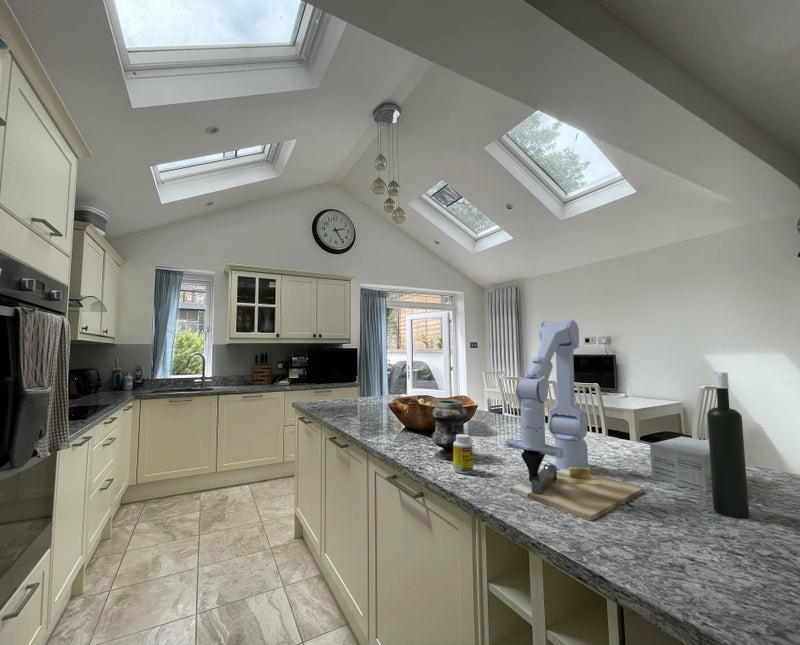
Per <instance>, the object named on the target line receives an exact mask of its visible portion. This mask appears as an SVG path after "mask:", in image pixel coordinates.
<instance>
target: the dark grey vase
mask: <svg viewBox="0 0 800 645" xmlns="http://www.w3.org/2000/svg"><path fill="white" fill-rule="evenodd" d="M431 415H432V417H433V418H434V419H435V430H434V432H433V433H432V434H431V441H432V443H433V444H434V445H435V446H438V447H439V448H441V449H440V450H438V451H436V452H435V453H434V457H436V458H438V459H441V460H453V461H454V459H453V443H454V442H455V441H456V435H458V434H466V433H465V430H464V428H465V427H464V423H465V422H464V421H465V419H467V416H468V411H467V410H466V408H464V406H463V402H462V400H461V401H460V400H455V399H439V400H437V401H436V406H435V407H433V409H432V411H431Z"/></svg>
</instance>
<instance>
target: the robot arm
mask: <svg viewBox="0 0 800 645" xmlns="http://www.w3.org/2000/svg"><path fill="white" fill-rule="evenodd" d="M538 336H539V340H540V344H539V348H538V351H537V354H536V356H533V357H532V358H531V360H530V362H529V364H528V367H527V370H526V372H525V374H524V376H523V377H522V378H520V379H519V380H518V381H517V383H516V385H515V386H516V388H515V396H516V398H517V404H518V408H520V439H514V438H507V439H505V447H506V448H509V449H510V448H512V449H517V450H521V451H523V452H521V453H520V455H521V458H522V460H523V461H524V464H525V465H526V467H527V470H528V481H530V482H531V479H533V478H534V477H535V476H536V475H537V474H538V473H539V470H540V467H541V464H542V463H543V460H544V458H545V457H546V456H550V457H555V463H552V464H553V465H555V466H557V470H561V469H564V468H569V467H582V468H589V469H591V468H592V465H589V460H588V458H589V457H588V453H589V452H588V444H587V442H586V441H585V439H584V438H586V436H587V433H588V421H587V418H586V417H587V416H586V413H585V411H584V410H583V409H582V408H580V407H579V406H578V405H577V404H575V402H576V401H575V400H576V398H575V368H574V367H575V366H574V364H575V363H574V354H575V352H574V351H575V350H576V349H578V348H579V347H580V346H579V345H580V331H579V326H578V324H577V322H576V321H575V320H574V319H571V320H559V321H558V320H557V321H542V322H541V323H540V324H539V326H538ZM554 355H555V363H556V365H555V369H556V374H555V375H556V403H557V404H556V405H554V406H553V407H551V408H550V409H549V411H548V418H547V428H548V429H547V430H548V432H550V434H551V435H552V438H554V446H553V445H550V444H548V443H546V423H545V422H546V420H545V419H546V418H545V402H546V401H547V399H548V396H549V378H550V376H551V374H552V370H553V363H552V361H551V360H552V358H553V356H554Z"/></svg>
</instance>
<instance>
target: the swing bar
mask: <svg viewBox="0 0 800 645" xmlns="http://www.w3.org/2000/svg"><path fill="white" fill-rule="evenodd" d="M553 464H554V463H552V462H547V463H546V464H543V468H542V470H540V471H538V474H537V475H536V476H535V477H534V478H533V479H531V485H532V492H536V493H540V494H542V493H543V492H544V491H545V490H546V489H547V488H548V487H549V486H550V485H551V484H552V483H553V482H554V481H556V480H557V471H558V469H557V466H555V465H553Z"/></svg>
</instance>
